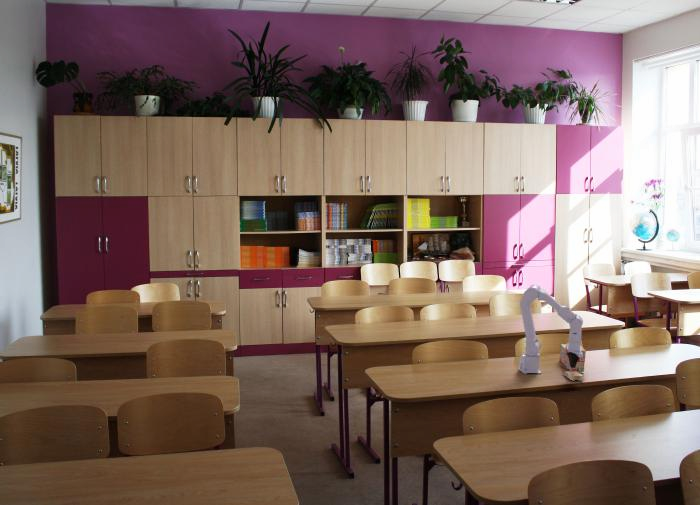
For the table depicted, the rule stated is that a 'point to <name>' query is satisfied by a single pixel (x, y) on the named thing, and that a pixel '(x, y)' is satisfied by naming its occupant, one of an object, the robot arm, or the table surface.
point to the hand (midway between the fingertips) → (572, 367)
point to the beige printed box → (565, 359)
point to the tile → (573, 375)
